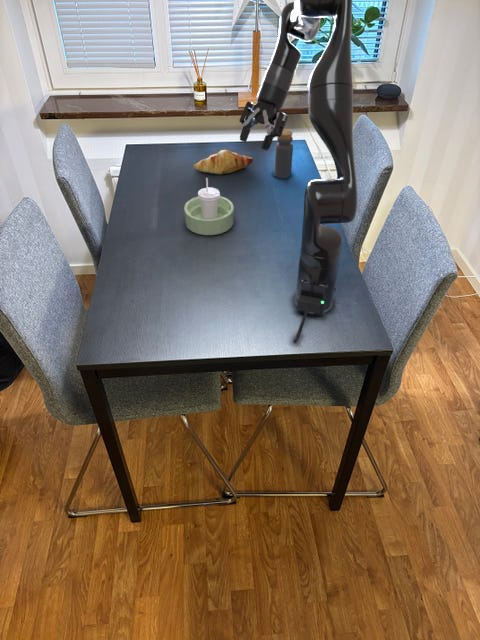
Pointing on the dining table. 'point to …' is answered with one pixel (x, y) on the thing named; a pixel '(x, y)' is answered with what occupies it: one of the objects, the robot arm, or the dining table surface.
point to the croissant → (223, 162)
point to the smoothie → (209, 201)
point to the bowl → (209, 226)
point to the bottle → (283, 155)
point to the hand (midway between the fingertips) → (253, 145)
